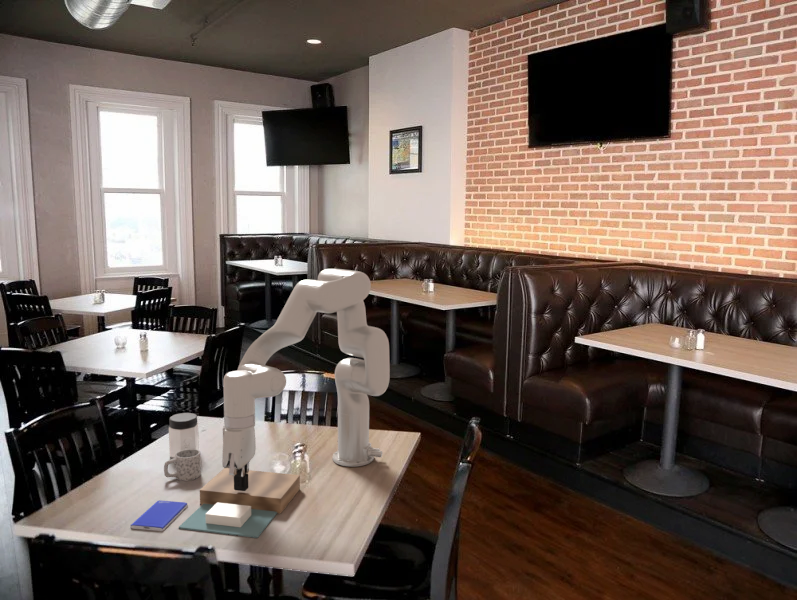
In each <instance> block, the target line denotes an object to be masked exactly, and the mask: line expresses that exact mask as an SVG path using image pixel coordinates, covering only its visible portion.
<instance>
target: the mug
mask: <svg viewBox="0 0 797 600" xmlns="http://www.w3.org/2000/svg"><path fill="white" fill-rule="evenodd" d="M175 456H176V458H171V459H169V460H167V461H165V462H164V464H163V465H164V466H163V471H164V476H165V478H176V479H177V480H178V481H182V480H184V482H185V480H188V481H193V480H196V479H198V478H200V477H201V475H202V474H201V473H202V468H201V467H202V466H201V451H200V449H199V450H196V449H186V450H181V451H179V452H177V453H176V455H175ZM172 464H175V471H174V472H172V473H169V470H168V468H169V465H172ZM199 476H200V477H199ZM195 478H196V479H195ZM192 479H193V480H192Z"/></svg>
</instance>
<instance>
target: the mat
mask: <svg viewBox="0 0 797 600" xmlns="http://www.w3.org/2000/svg"><path fill="white" fill-rule="evenodd" d="M213 506H214V505H212V504H203V505H200V506H199V507H198V508H196V509H195V511H194V512H193V513H192V514H190V516H188V517H187V519H186V520H184V521H183V522H182V523H181V524H180V525H179V526H178V529H180V530H187V531H196V532H205V533H211V534H219V535H220V534H221V535H228V534H229V535H228V536H236V535H238V536H237V537H246V538H255V539H258V538H259V537H260V536H261V535H262V533H263V531H264V530H265V529H266V528H267V527H268V526H269V524H271V522H272V521H273V520H274V518H275V516H277V514H278V513H277V512H275V511H266V510H257V509H251V516H250V517H249V518H248V520H247V521H246V522H245V523H244V524H243V525H242V526H241V527H233V526H225V525H216V524H208V523H206V513H207V512H208V511H209V510H210V509H211V508H212V507H213Z"/></svg>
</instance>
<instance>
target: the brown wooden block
mask: <svg viewBox="0 0 797 600" xmlns="http://www.w3.org/2000/svg"><path fill="white" fill-rule="evenodd" d="M246 474H248V489H247V490H246V491H238V490H234V476H233V475H229V468H227V467H226V468H224V467H223V469H222V470H221V471H220V472H218V473H217V474H216V475H215V476H214V477H213V478H211V479H210V480H209V481H208V482H207V483H205V484H204V486H202V487H201V488H200V489H199V505H200V504H201V505H200V506H202V505H203V504H212V505H215V504H216V503H217V502H219V503H228V504H237V505H246V506H251V509H257V510H266V511H275V512H277V514H278V515H279V514H282V513H283V512H284V510H285V509H286V508H287V506H288V505H289V504H290V502H292V501H293V499H294V498H295V497H296V495H297V493H298V492H299V491H300V489H301V477H300V476H301V475H300V474H290V473H281V472H272V471H271V472H270V471H259V470H251V469H249V472H248V473H246Z"/></svg>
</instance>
